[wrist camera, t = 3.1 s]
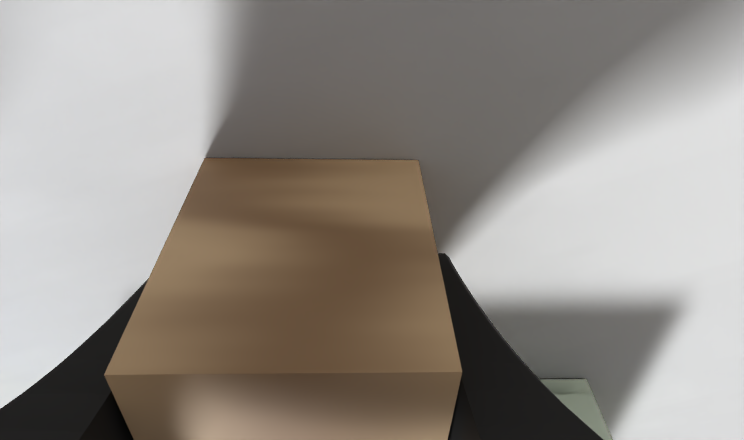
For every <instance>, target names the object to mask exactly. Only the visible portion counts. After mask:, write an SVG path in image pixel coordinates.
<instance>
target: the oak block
mask: <svg viewBox="0 0 744 440" xmlns="http://www.w3.org/2000/svg"><path fill="white" fill-rule="evenodd" d="M104 376H105V378H106V380H107V382H108V385H109V387H110V389H111V391H112V393H113V395H114V398H115V400H116V402H117V404H118V406H119V408H120V411H121V413H122V415H123V417H124V419H125V422H126V424H127V426H128V428H129V430H130V432H131V435H132V437H133V439H134V440H448V435H449V431H450V426H451V422H452V417H453V412H454V408H455V403H456V399H457V394H458V389H459V385H460V380H461V376H462V368H461V363H460V359H459V354H458V349H457V344H456V339H455V334H454V330H453V325H452V320H451V315H450V310H449V306H448V301H447V296H446V291H445V286H444V281H443V277H442V272H441V267H440V262H439V257H438V252H437V248H436V243H435V238H434V233H433V228H432V224H431V219H430V214H429V209H428V204H427V199H426V195H425V190H424V185H423V180H422V175H421V170H420V166H419V161H418V160H358V159H259V158H204V160H203V163H202V165H201V167H200V169H199V171H198V173H197V176H196V178H195V180H194V182H193V184H192V186H191V188H190V191H189V193H188V195H187V197H186V199H185V201H184V204H183V206H182V208H181V210H180V212H179V214H178V216H177V219H176V221H175V223H174V225H173V227H172V229H171V232H170V234H169V236H168V238H167V240H166V242H165V245H164V247H163V249H162V251H161V253H160V255H159V257H158V260H157V262H156V264H155V266H154V268H153V270H152V273H151V275H150V277H149V279H148V281H147V283H146V285H145V288H144V290H143V292H142V294H141V296H140V298H139V301H138V303H137V305H136V307H135V309H134V311H133V313H132V316H131V318H130V320H129V322H128V324H127V326H126V329H125V331H124V333H123V335H122V337H121V339H120V341H119V344H118V346H117V348H116V350H115V352H114V354H113V357H112V359H111V361H110V363H109V365H108V367H107V370H106V372H105V374H104Z"/></svg>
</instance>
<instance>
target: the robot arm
mask: <svg viewBox="0 0 744 440" xmlns="http://www.w3.org/2000/svg"><path fill="white" fill-rule="evenodd" d="M438 257H439V262H440V267H441V272H442V277H443V281H444V286H445V291H446V296H447V301H448V306H449V310H450V315H451V320H452V325H453V330H454V334H455V339H456V344H457V349H458V354H459V359H460V363H461V368H462V376H461V380H460V385H459V389H458V394H457V399H456V403H455V408H454V412H453V417H452V422H451V426H450V431H449V435H448V440H603V439H602V438H601V437H600V436H599V435H598V434H597V433H596V432H594V431H593V430H592V429H591V428H590V427H589V426H588V425H587V424H585V423H584V422H583V421H582V420H581V419H580V418H579V417H578V416H576V415H575V414H574V413H573V412H572V411H571V410H570V409H569V408H567V407H566V406H565V405H564V404H563V403H562V402H561V401H560V400H559V399H558V398H557V397H556V396H555V395H554V394H553V393H552V392H551V391H550V390H549V389H548V388H547V387H546V386H545V385H544V384H543V383H542V382H541V381H540V380H539V379H538V378H537V376H536V375H535V374H534V373H533V372H532V371H531V370H530V369H529V368H528V367H527V366H526V365H525V363H524V362H523V361H522V360H521V359H520V358H519V356H518V355H517V354H516V353H515V352H514V351H513V349H512V348H511V347H510V346H509V344H508V343H507V342H506V341H505V340H504V338H503V337H502V336H501V335H500V333H499V332H498V331H497V329H496V328H495V327H494V326H493V324H492V323H491V321H490V320H489V319H488V317H487V316H486V315H485V313H484V312H483V310H482V309H481V308H480V306H479V305H478V303H477V302H476V300H475V299H474V298H473V296H472V295H471V293H470V291H469V290H468V288H467V287H466V285H465V284H464V282H463V281H462V279H461V277H460V276H459V274H458V272H457V271H456V269H455V267H454V266H453V264H452V262H451V260H450V258H449V257H448V256H447V255H446V254H445V253H438ZM148 279H149V278H148ZM148 279H147V281H148ZM147 281H146V282H145V283H144V284H143V285H142V286H141V287H140V288H139V289H138V290H137V291H136V292H135V293H134V294H133V295H132V296H131V297H130V298H129V299H128V300H127V301H126V302H125V303H124V304H123V305H122V306H121V307H120V308H119V309H118V310H117V311H116V312H115V313H114V314H113V315H112V316H111V318H110V319H108V320H107V321H106V322H105V323H104V324H103V325H102V326H101V327H100V328H99V329H98V330H97V331H96V332H95V333H94V334H93V335H91V336H90V337H89V338H88V339H87V340H86V341H85V342H84V343H83V344H82V345H81V346H80V347H78V348H77V349H76V350H75V351H74V352H73V353H72V354H71V355H69V356H68V357H67V358H66V359H65V360H64V361H62V362H61V363H60V364H59V365H58V366H57V367H55V368H54V369H53V370H52V371H50V372H49V373H48V374H47V375H45V376H44V377H43V378H42V379H40V380H39V381H38V382H37V383H35V384H34V385H33V386H31V387H30V388H29V389H27V390H26V391H25V392H24V393H22V394H21V395H19V396H18V397H17V398H15V399H14V400H12V401H11V402H9V403H8V404H7V405H5V406H4V407H2V408H1V409H0V440H134V439H133V437H132V435H131V432H130V430H129V428H128V426H127V424H126V422H125V419H124V417H123V415H122V413H121V411H120V408H119V406H118V404H117V402H116V400H115V398H114V395H113V393H112V391H111V389H110V387H109V385H108V382H107V380H106V378H105V376H104V374H105V372H106V370H107V367H108V365H109V363H110V361H111V359H112V357H113V354H114V352H115V350H116V348H117V346H118V344H119V341H120V339H121V337H122V335H123V333H124V331H125V329H126V326H127V324H128V322H129V320H130V318H131V316H132V313H133V311H134V309H135V307H136V305H137V303H138V301H139V298H140V296H141V294H142V292H143V290H144V288H145V285H146V283H147Z"/></svg>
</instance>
